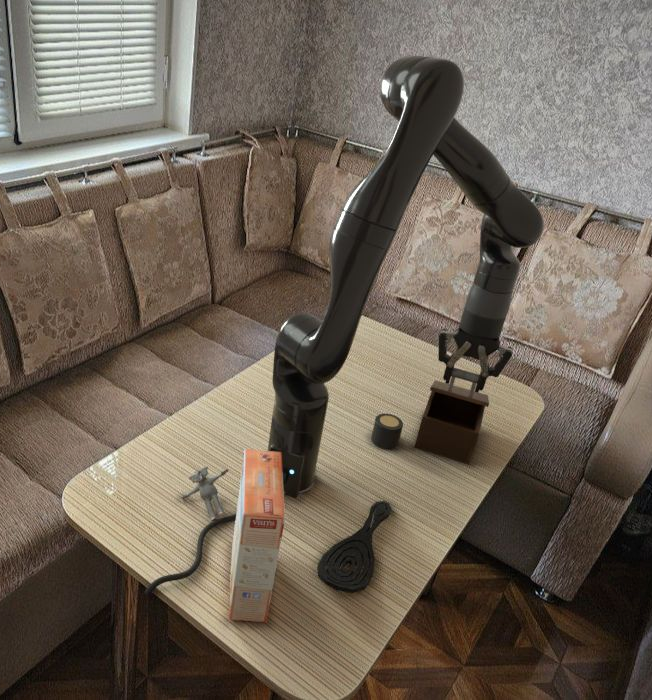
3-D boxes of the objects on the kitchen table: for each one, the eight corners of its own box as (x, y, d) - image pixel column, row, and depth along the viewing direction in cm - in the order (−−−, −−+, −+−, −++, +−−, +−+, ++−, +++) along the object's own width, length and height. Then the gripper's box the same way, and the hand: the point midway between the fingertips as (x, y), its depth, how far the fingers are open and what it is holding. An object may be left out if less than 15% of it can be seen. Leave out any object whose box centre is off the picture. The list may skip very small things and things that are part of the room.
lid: (488, 407, 127) (496, 379, 126) (429, 390, 130) (437, 363, 130) (486, 398, 141) (494, 374, 140) (434, 383, 144) (441, 359, 144)
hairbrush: (410, 502, 118) (358, 592, 98) (406, 518, 120) (354, 610, 100) (367, 484, 121) (308, 567, 102) (363, 499, 123) (304, 584, 103)
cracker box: (269, 624, 97) (286, 517, 87) (227, 621, 97) (240, 514, 86) (268, 551, 109) (283, 449, 99) (231, 548, 109) (242, 446, 98)
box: (469, 464, 134) (479, 433, 130) (414, 447, 137) (422, 416, 133) (477, 428, 145) (486, 398, 141) (426, 413, 148) (434, 383, 144)
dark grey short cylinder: (395, 452, 135) (400, 432, 132) (368, 444, 137) (372, 424, 134) (400, 438, 139) (405, 418, 137) (374, 429, 141) (379, 410, 139)
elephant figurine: (185, 529, 112) (168, 483, 117) (202, 534, 117) (185, 489, 122) (235, 499, 110) (215, 453, 115) (250, 506, 115) (230, 461, 120)
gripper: (444, 305, 122) (422, 384, 130) (525, 326, 118) (498, 406, 126) (450, 291, 128) (429, 367, 137) (527, 311, 124) (501, 388, 132)
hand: (462, 385), depth 131 cm, fingers closed on lid, 5 cm apart
